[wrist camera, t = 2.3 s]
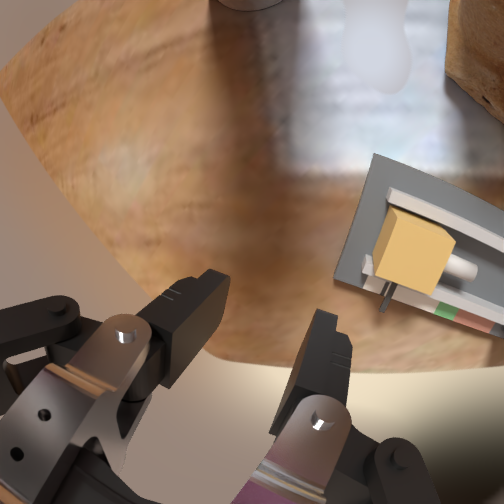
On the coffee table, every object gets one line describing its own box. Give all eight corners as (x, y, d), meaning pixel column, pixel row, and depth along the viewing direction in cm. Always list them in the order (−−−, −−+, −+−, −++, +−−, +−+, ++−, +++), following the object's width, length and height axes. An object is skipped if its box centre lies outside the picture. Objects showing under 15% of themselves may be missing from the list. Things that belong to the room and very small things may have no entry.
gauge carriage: (356, 291, 27) (355, 318, 22) (390, 204, 23) (397, 217, 19) (435, 318, 25) (445, 347, 21) (474, 240, 21) (494, 259, 17)
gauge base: (334, 271, 29) (331, 287, 26) (373, 152, 24) (377, 153, 21) (510, 335, 24) (520, 352, 21) (556, 244, 19) (572, 255, 16)
